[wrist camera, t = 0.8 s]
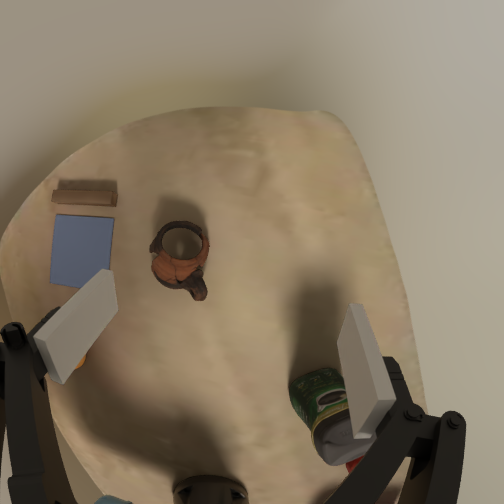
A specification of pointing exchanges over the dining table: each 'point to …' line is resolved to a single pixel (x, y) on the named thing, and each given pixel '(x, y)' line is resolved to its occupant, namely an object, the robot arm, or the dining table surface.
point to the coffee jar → (328, 416)
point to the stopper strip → (85, 197)
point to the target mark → (80, 249)
